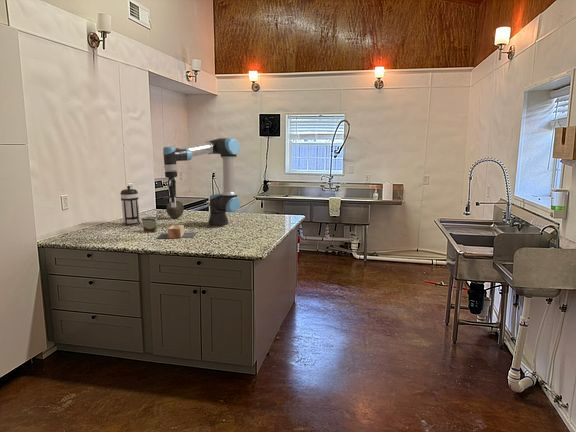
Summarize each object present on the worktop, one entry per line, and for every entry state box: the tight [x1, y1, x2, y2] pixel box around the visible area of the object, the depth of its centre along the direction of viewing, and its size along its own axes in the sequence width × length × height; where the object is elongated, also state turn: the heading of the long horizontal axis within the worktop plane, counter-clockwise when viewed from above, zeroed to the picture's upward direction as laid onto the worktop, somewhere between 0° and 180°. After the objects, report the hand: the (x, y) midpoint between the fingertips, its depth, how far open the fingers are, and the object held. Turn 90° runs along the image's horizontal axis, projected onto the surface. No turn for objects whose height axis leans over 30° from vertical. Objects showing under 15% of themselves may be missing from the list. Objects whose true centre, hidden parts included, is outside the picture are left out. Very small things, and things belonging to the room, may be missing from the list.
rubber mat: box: [156, 231, 198, 240], centre depth 273 cm, size 24×14×1 cm, turn 94°
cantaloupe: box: [165, 200, 185, 219], centre depth 334 cm, size 14×14×15 cm
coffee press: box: [119, 185, 141, 227], centre depth 311 cm, size 17×16×30 cm
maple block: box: [167, 224, 185, 239], centre depth 270 cm, size 8×6×12 cm
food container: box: [140, 216, 158, 233], centre depth 288 cm, size 12×6×10 cm, turn 71°
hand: (173, 207), depth 264 cm, fingers closed
